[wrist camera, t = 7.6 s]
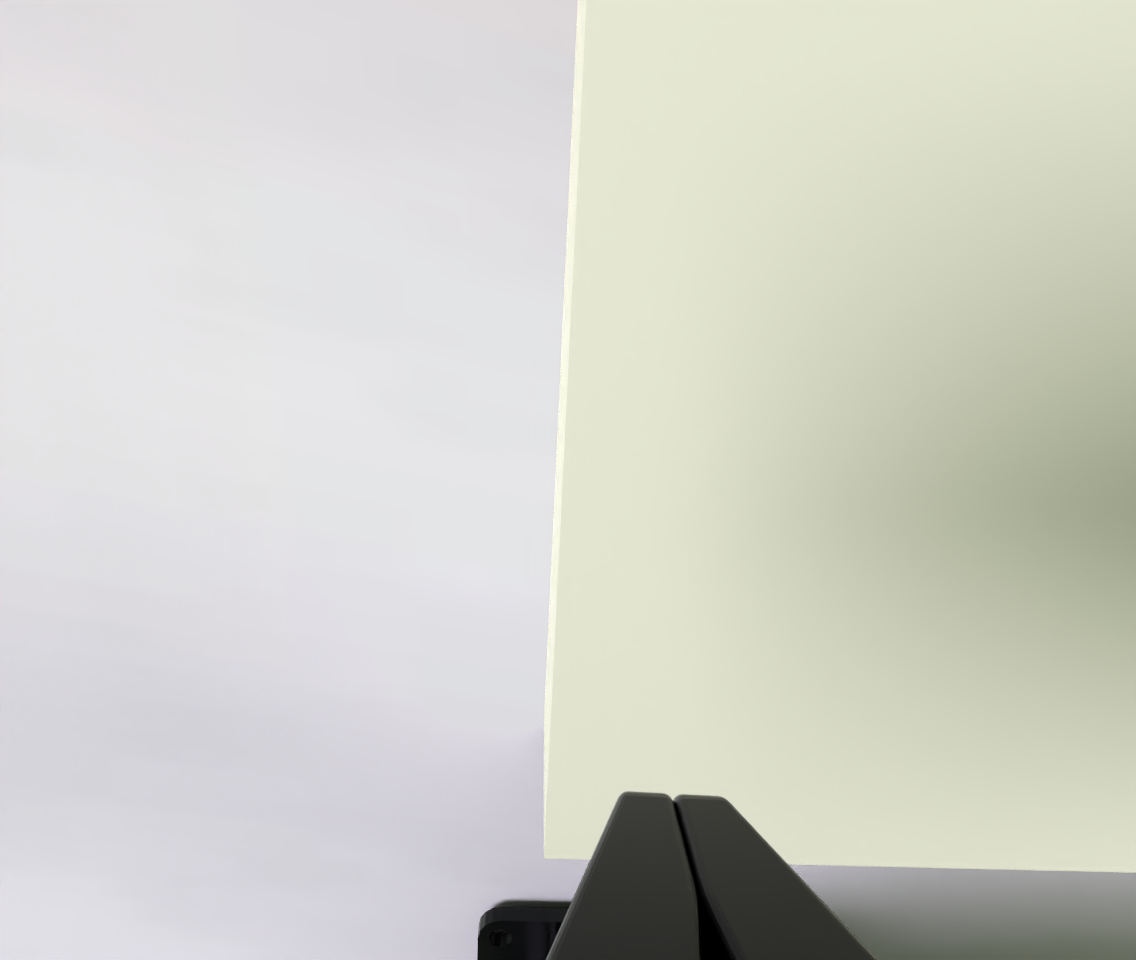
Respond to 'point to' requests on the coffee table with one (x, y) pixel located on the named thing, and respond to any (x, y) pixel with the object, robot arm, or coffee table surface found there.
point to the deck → (851, 429)
